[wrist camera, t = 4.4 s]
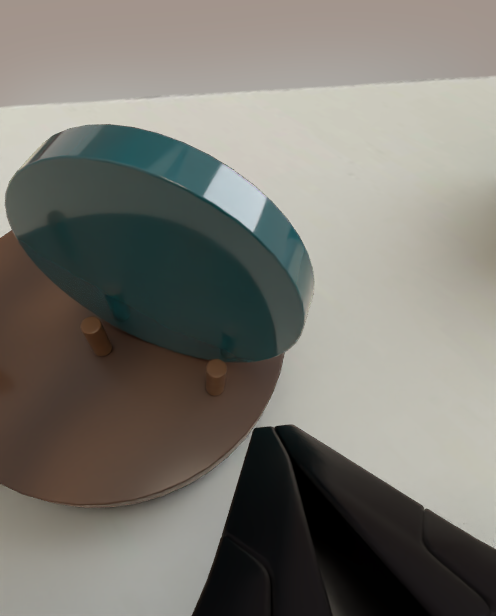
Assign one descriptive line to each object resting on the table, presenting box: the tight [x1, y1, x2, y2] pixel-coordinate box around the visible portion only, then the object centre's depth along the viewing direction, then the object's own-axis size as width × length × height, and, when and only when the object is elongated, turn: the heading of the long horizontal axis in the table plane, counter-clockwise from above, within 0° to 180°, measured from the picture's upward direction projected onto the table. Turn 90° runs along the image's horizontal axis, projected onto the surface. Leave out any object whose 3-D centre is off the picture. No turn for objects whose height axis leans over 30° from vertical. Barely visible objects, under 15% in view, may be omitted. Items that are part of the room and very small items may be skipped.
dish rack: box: [0, 124, 314, 508], centre depth 13 cm, size 14×14×10 cm
